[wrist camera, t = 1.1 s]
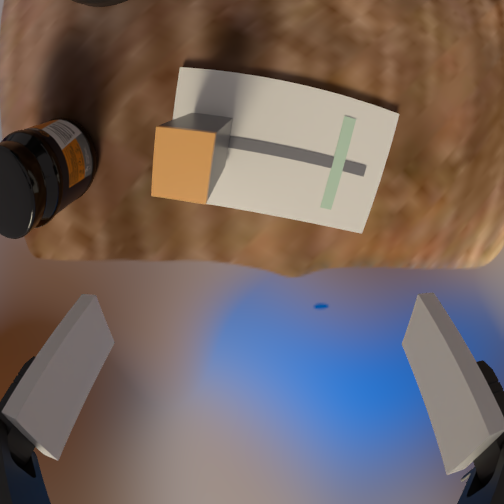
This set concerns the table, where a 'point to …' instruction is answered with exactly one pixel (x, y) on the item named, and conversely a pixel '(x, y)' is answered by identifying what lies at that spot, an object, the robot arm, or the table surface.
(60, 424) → the robot arm
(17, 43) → the table surface
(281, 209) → the fader console
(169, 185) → the lever
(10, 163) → the supplement container
